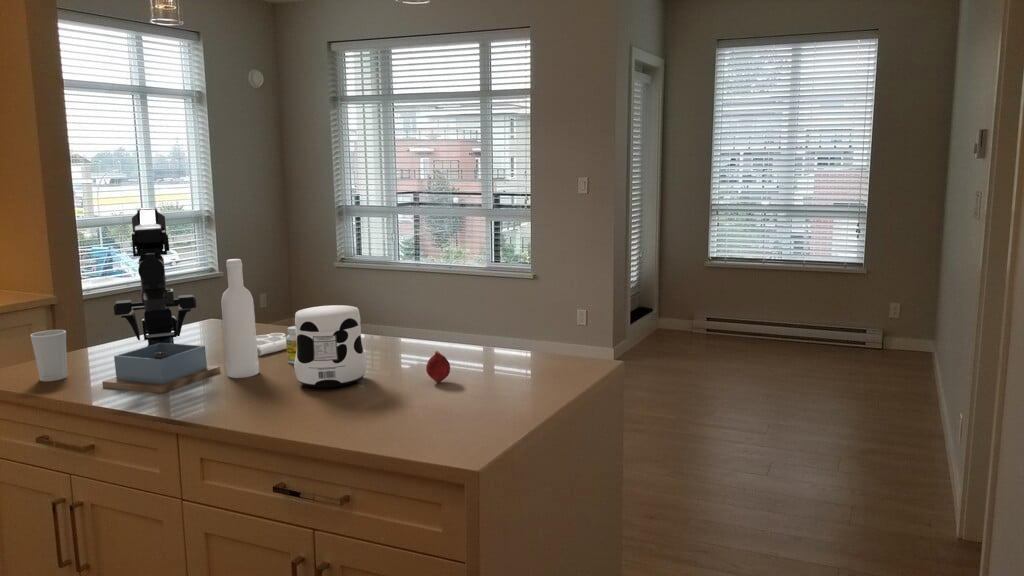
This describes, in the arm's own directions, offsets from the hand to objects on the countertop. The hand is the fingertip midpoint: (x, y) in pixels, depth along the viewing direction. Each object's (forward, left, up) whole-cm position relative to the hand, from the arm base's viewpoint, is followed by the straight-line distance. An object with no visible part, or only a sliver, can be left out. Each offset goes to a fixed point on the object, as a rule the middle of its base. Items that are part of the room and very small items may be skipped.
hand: (159, 337), depth 200 cm
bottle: (-10, +17, -11) cm, 23 cm away
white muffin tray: (-34, +4, -12) cm, 36 cm away
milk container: (-10, +44, -11) cm, 46 cm away
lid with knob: (0, 0, -9) cm, 9 cm away
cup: (+7, -30, -11) cm, 33 cm away
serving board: (0, 0, -11) cm, 11 cm away
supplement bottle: (-25, +23, -11) cm, 36 cm away
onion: (-17, +70, -11) cm, 73 cm away
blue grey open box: (0, -1, -9) cm, 9 cm away
